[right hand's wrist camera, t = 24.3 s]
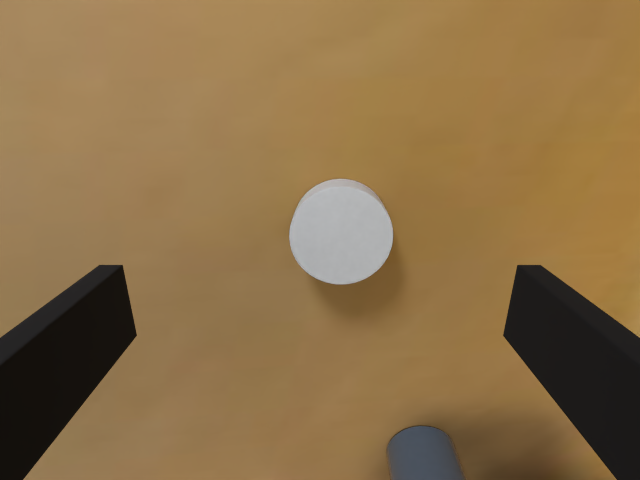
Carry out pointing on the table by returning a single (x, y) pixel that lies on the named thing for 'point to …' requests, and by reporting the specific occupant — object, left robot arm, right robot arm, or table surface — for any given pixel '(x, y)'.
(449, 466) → the bottle
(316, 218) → the white cylinder
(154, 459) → the table surface
